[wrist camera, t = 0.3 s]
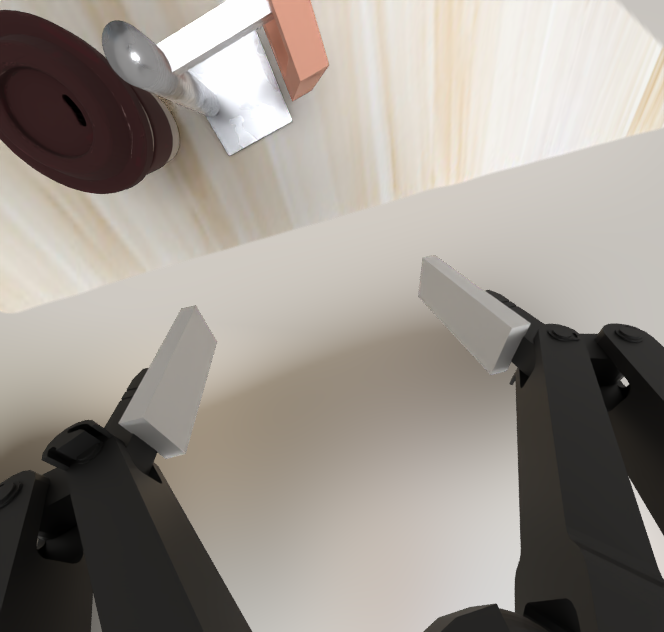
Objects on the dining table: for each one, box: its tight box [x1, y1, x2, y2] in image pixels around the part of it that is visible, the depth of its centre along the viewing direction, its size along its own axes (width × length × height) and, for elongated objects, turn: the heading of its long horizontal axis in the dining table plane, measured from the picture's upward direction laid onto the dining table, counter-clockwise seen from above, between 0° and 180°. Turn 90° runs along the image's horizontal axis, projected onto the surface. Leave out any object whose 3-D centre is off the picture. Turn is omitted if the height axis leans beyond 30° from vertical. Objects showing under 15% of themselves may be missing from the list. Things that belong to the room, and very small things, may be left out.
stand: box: [102, 0, 292, 156], centre depth 19 cm, size 10×14×19 cm
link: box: [263, 0, 329, 101], centre depth 16 cm, size 8×2×9 cm, turn 23°
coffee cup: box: [0, 10, 179, 194], centre depth 22 cm, size 10×10×15 cm
